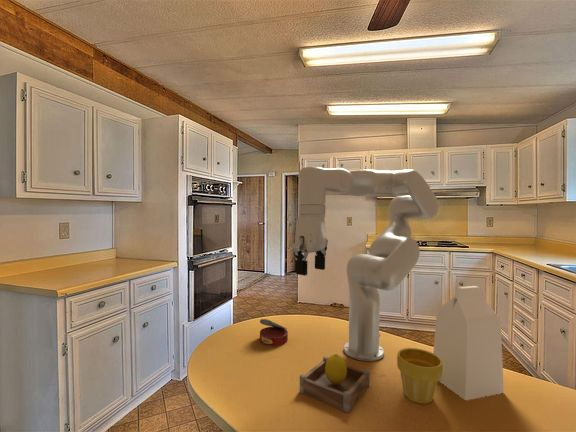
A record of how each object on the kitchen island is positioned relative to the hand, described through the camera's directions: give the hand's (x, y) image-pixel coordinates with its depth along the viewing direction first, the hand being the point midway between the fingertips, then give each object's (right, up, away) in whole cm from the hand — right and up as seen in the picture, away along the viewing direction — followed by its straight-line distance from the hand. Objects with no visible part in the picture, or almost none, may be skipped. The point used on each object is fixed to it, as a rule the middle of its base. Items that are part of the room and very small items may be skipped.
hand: (311, 271), depth 88 cm
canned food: (-12, -28, +21) cm, 37 cm away
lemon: (+6, -28, -8) cm, 30 cm away
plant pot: (+26, -29, -11) cm, 40 cm away
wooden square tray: (+6, -29, -8) cm, 30 cm away
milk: (+41, -29, -5) cm, 50 cm away
